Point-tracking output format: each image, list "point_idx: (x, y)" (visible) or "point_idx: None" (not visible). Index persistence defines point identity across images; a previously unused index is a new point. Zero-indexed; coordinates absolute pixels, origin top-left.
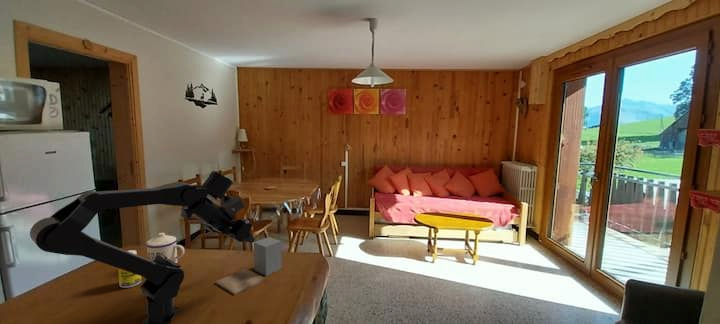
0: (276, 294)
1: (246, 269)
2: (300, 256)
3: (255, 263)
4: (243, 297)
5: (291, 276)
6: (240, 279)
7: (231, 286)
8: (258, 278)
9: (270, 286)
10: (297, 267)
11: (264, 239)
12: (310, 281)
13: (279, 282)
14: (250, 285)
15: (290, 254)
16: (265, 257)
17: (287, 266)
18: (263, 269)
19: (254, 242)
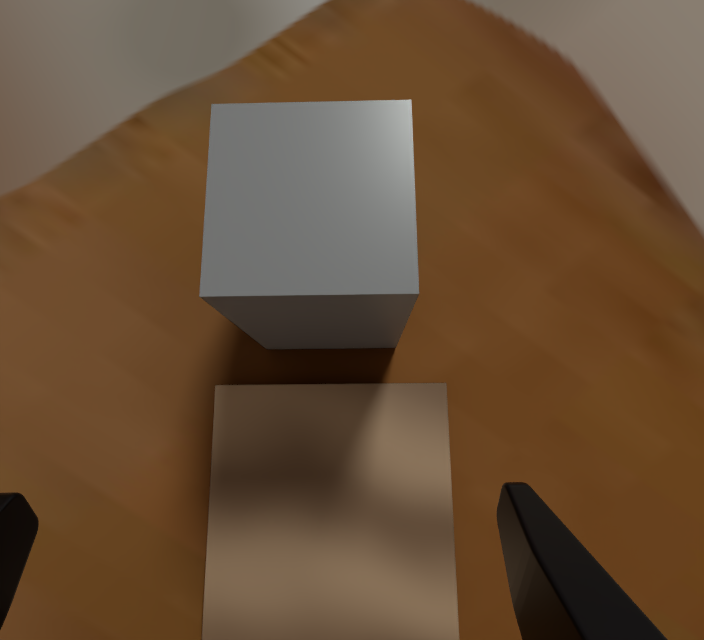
0: (647, 451)
1: (230, 391)
2: (347, 49)
3: (268, 339)
4: None
5: (526, 251)
6: (323, 504)
7: (360, 604)
8: (408, 416)
9: (534, 414)
10: (456, 155)
11: (226, 174)
12: (665, 221)
13: (533, 346)
14: (450, 509)
15: (271, 68)
16: (404, 320)
17: None
18: (368, 342)
19: (207, 292)
